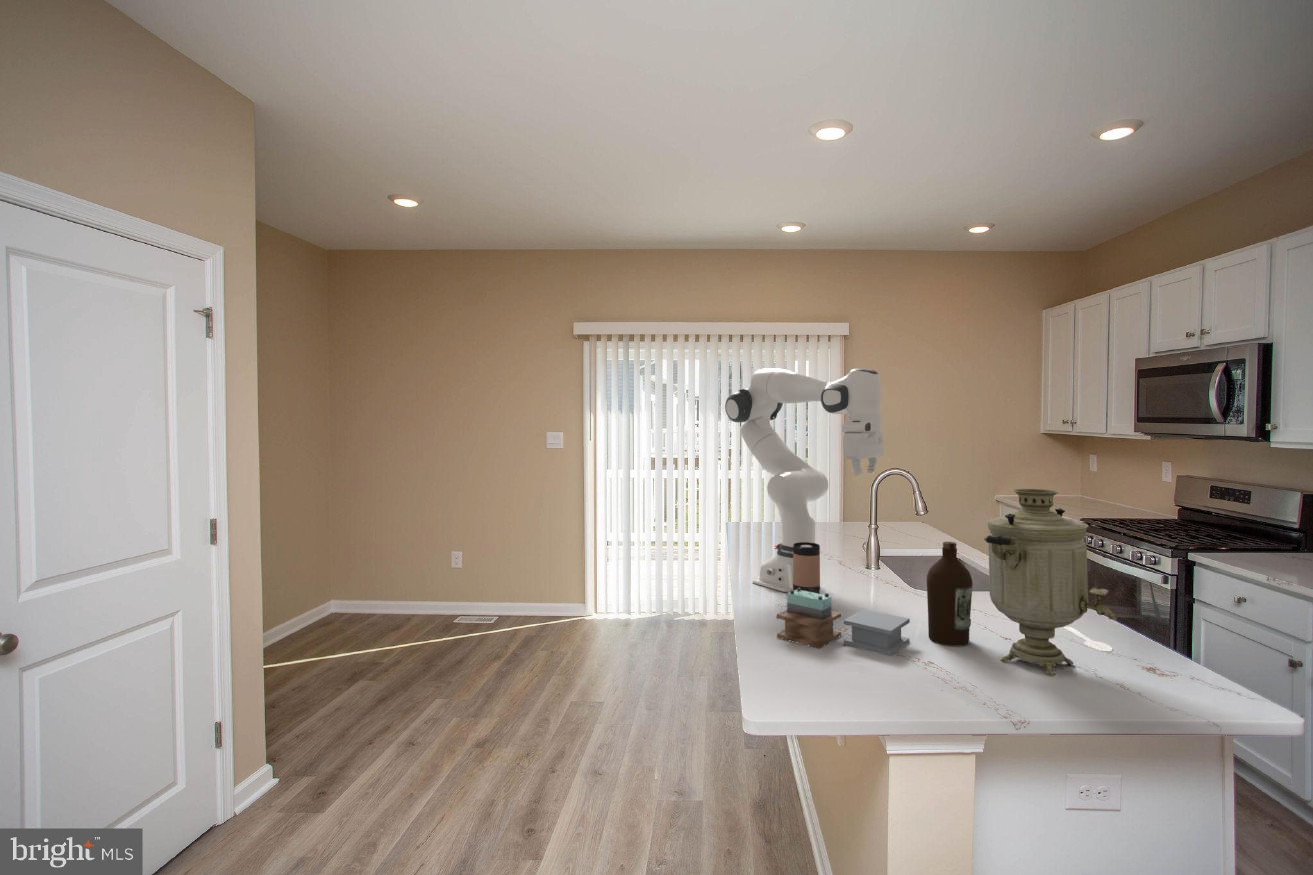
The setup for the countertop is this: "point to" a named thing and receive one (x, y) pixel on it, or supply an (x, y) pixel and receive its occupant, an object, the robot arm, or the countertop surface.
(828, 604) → the block
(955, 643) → the olive oil
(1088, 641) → the spoon
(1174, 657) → the countertop surface
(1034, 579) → the samovar
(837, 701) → the countertop surface
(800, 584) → the travel mug
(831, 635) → the stand
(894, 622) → the stand
